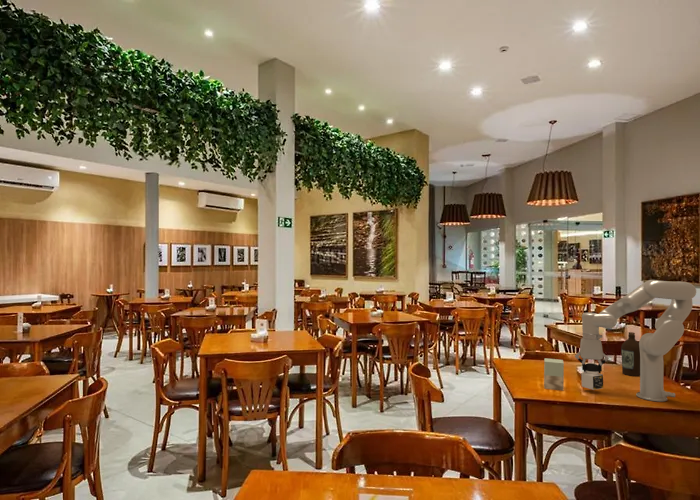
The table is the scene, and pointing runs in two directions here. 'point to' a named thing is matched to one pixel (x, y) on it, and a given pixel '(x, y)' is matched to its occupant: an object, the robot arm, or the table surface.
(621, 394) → the table surface
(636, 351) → the olive oil
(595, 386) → the medicine bottle
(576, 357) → the robot arm
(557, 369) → the top block
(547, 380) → the bottom block
